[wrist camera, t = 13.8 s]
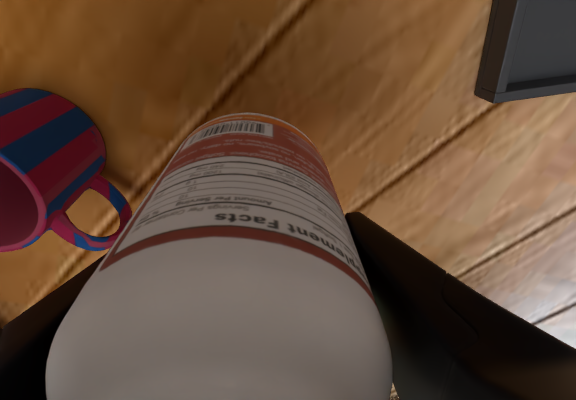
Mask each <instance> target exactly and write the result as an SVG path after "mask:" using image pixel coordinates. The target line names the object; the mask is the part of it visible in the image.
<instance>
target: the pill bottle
mask: <svg viewBox="0 0 576 400" xmlns="http://www.w3.org/2000/svg"><path fill="white" fill-rule="evenodd" d="M45 379H46V396H47V400H389V398H390V393H391V388H392V382H393V362H392V355H391V349H390V345H389V341H388V338H387V335H386V332H385V329H384V326H383V322H382V319H381V316H380V313H379V310H378V307H377V304H376V301H375V299H374V296H373V294H372V291H371V288H370V285H369V282H368V279H367V277H366V274H365V271H364V268H363V266H362V263H361V260H360V258H359V255H358V252H357V249H356V247H355V244H354V241H353V238H352V235H351V233H350V230H349V227H348V224H347V222H346V219H345V217H344V214H343V211H342V208H341V205H340V203H339V200H338V197H337V194H336V192H335V189H334V186H333V183H332V181H331V178H330V175H329V172H328V169H327V167H326V165H325V162H324V160H323V158H322V156H321V154H320V152H319V151H318V149H317V148H316V146H315V145H314V144H313V143H312V141H311V140H310V139H309V138H308V137H307V136H306V135H305V134H304V133H302V132H301V131H300V130H299V129H297V128H296V127H294V126H293V125H291V124H289V123H287V122H285V121H283V120H280V119H278V118H275V117H272V116H268V115H264V114H257V113H234V114H229V115H225V116H221V117H218V118H215V119H213V120H211V121H209V122H207V123H205V124H203V125H202V126H200V127H199V128H197V129H196V130H195V131H193V132H192V133H191V134H190V135H189V136H188V137H187V138H186V139H185V141H184V142H183V143H182V144H181V146H180V147H179V149H178V150H177V151H176V153H175V154H174V155H173V157H172V158H171V160H170V161H169V163H168V164H167V166H166V167H165V169H164V170H163V171H162V173H161V175H160V176H159V178H158V179H157V180H156V182H155V183H154V185H153V186H152V188H151V189H150V191H149V192H148V194H147V195H146V197H145V198H144V200H143V201H142V202H141V204H140V205H139V207H138V208H137V210H136V211H135V213H134V214H133V216H132V218H131V219H130V220H129V222H128V223H127V225H126V226H125V228H124V229H123V231H122V232H121V234H120V235H119V237H118V238H117V240H116V241H115V242H114V244H113V245H112V247H111V248H110V250H109V251H108V253H107V254H106V255H105V257H104V258H103V260H102V261H101V262H100V264H99V265H98V267H97V268H96V270H95V272H94V273H93V274H92V276H91V277H90V278H89V280H88V281H87V282H86V284H85V285H84V287H83V288H82V290H81V292H80V293H79V295H78V297H77V298H76V300H75V302H74V303H73V305H72V306H71V308H70V309H69V311H68V313H67V314H66V316H65V317H64V319H63V320H62V322H61V324H60V326H59V328H58V330H57V332H56V334H55V336H54V339H53V341H52V344H51V347H50V351H49V355H48V359H47V364H46V375H45Z"/></svg>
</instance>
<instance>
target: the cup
mask: <svg viewBox="0 0 576 400" xmlns="http://www.w3.org/2000/svg"><path fill="white" fill-rule="evenodd" d="M105 160H106V150H105V145H104V142H103V139H102V137H101V134H100V132H99V131H98V129H97V128H96V126H95V124H94V123H93V122H92V121H91V120H90V118H89V117H88V116H87V115H86V114H85V113H84V112H83V111H82V110H80V109H79V108H78V107H76V106H75V105H74V104H72V103H71V102H69V101H68V100H66V99H64V98H62V97H60V96H58V95H55V94H53V93H50V92H47V91H43V90H39V89H30V88H24V89H16V90H12V91H9V92H6V93H3V94H0V252H7V251H14V250H18V249H22V248H24V247H27V246H29V245H31V244H32V243H34V242H35V241H36V240H38V239H39V238H40V237H41V236H42V235H43V234H44V233H45V232H46V231H48V230H53V231H54V232H55V233H56V234H58V235H59V236H60V237H62V238H63V239H65V240H66V241H68V242H69V243H71V244H73V245H75V246H77V247H80V248H83V249H86V250H91V251H100V250H105V249H108V248H110V247H112V245H113V244H114V242H115V241H116V240H117V238H118V237H119V235H120V234H121V232H122V231H123V229H124V228H125V226H126V225H127V223H128V222H129V220H130V219H131V218H132V211H131V208H130V206H129V204H128V202H127V200H126V199H125V197H124V196H123V195H122V194H121V193H120V192H119V191H118V190H117V189H116V188H115V187H114V186H113V185H112V184H111V183H110V182H109V181H108V180H106V179H105V178H104V177H102V176H101V175H100V173H101V172H102V170H103V168H104V165H105ZM89 188H91V189H93V190H95V191H97V192H99V193H100V194H102V195H103V196H104V197H105V198H107V199H108V200H109V201H110V202H111V203H112V205H113V206H114V207H115V208H116V210H117V211H118V213H119V217H120V226H119V229H118V230H117V231H116V232H115V233H114V234H112V235H110V236H107V237H95V236H91V235H88V234H86V233H84V232H82V231H81V230H79V229H77V228H76V227H75V226H74V225H73V223H72V222H71V221H70V219H69V218H68V216H67V214H66V213H65V211H66V210H67V209H68V208H69V207H70V206H71V205H72V204H73V203H74V202H75V201H76V200H77V199H78V198H79V197H80V196H81V194H82V193H83V192H84V191H86V190H87V189H89Z"/></svg>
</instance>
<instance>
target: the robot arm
mask: <svg viewBox="0 0 576 400" xmlns="http://www.w3.org/2000/svg"><path fill="white" fill-rule="evenodd" d="M345 219H346V222H347V224H348V227H349V230H350V233H351V235H352V238H353V241H354V244H355V247H356V249H357V252H358V255H359V258H360V260H361V263H362V266H363V268H364V271H365V274H366V277H367V279H368V282H369V285H370V288H371V291H372V294H373V296H374V299H375V301H376V304H377V307H378V310H379V313H380V316H381V319H382V322H383V326H384V329H385V332H386V335H387V338H388V341H389V345H390V349H391V355H392V362H393V384H394V386H395V389H396V392H397V394H398V397H399V400H576V349H575V348H573V347H571V346H569V345H567V344H566V343H564V342H562V341H560V340H558V339H557V338H555V337H553V336H551V335H550V334H548V333H546V332H544V331H543V330H541V329H539V328H538V327H536V326H534V325H532V324H531V323H529V322H527V321H525V320H524V319H522V318H520V317H518V316H517V315H515V314H513V313H511V312H510V311H508V310H506V309H504V308H503V307H501V306H499V305H498V304H496V303H494V302H493V301H491V300H489V299H488V298H486V297H484V296H483V295H481V294H479V293H478V292H476V291H475V290H473V289H472V288H470V287H469V286H467V285H465V284H464V283H462V282H461V281H459V280H458V279H457V278H455V277H454V276H452V275H451V274H449V273H447V274H446V271H445V270H443V269H442V268H440V267H439V266H437V265H436V264H434V263H433V262H432V261H430V260H429V259H427V258H426V257H424V256H423V255H421V254H420V253H418V252H417V251H416V250H414V249H413V248H411V247H410V246H408V245H407V244H405V243H404V242H402V241H401V240H400V239H398V238H397V237H395V236H394V235H392V234H391V233H389V232H388V231H386V230H385V229H384V228H382V227H381V226H379V225H378V224H376V223H375V222H373V221H372V220H370V219H369V218H368V217H366V216H365V215H363V214H362V213H360V212H352V213H346V215H345ZM106 254H107V253H106ZM106 254H105V255H106ZM105 255H104V256H102V257H101V258H99V259H98V260H97V261H95V262H94V263H92V264H91V265H90V266H88V267H87V268H85V269H84V270H83V271H81V272H80V273H78V274H77V275H75V276H74V277H73V278H71V279H70V280H68V281H67V282H66V283H64V284H63V285H61V286H60V287H59V288H57V289H56V290H54V291H53V292H52V293H50V294H49V295H47V296H46V297H44V298H43V299H42V300H40V301H39V302H37V303H36V304H35V305H33V306H32V307H30V308H29V309H28V310H26V311H25V312H23V313H22V314H21V315H19V316H18V317H16V318H15V319H13V320H12V321H11V322H9V323H8V324H6V325H5V326H4V327H3V329H0V400H47V396H46V379H45V375H46V364H47V359H48V355H49V351H50V347H51V344H52V341H53V339H54V336H55V334H56V332H57V330H58V328H59V326H60V324H61V322H62V320H63V319H64V317H65V316H66V314H67V313H68V311H69V309H70V308H71V306H72V305H73V303H74V302H75V300H76V298H77V297H78V295H79V293H80V292H81V290H82V288H83V287H84V285H85V284H86V282H87V281H88V280H89V278H90V277H91V276H92V274H93V273H94V272H95V270H96V268H97V267H98V265H99V264H100V262H101V261H102V260H103V258H104V257H105Z"/></svg>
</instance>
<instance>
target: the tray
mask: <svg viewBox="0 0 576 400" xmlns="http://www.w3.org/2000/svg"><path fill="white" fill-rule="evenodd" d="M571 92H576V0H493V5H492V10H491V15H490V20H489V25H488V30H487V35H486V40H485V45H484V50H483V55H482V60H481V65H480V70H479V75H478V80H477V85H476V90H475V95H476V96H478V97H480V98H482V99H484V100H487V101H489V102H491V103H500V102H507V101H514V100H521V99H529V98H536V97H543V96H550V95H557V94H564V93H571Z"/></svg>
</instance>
